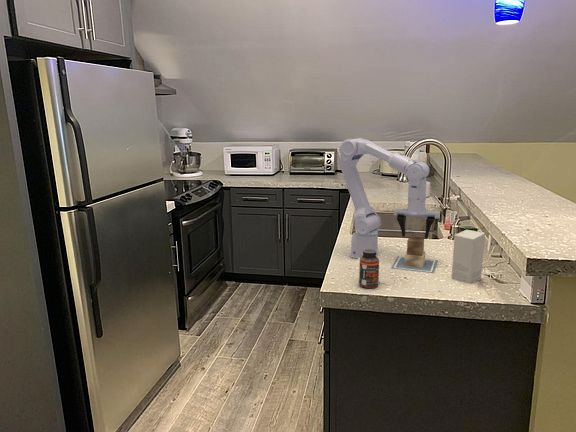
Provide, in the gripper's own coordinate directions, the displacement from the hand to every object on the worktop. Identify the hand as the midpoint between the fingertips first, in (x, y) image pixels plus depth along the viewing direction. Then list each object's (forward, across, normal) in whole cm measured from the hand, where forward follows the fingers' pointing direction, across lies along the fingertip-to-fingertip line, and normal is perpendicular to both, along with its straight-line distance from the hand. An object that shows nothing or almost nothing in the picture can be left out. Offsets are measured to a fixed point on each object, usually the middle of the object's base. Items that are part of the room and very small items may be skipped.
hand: (415, 236), depth 154 cm
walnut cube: (+5, 0, -2) cm, 6 cm away
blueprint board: (+10, 0, -1) cm, 10 cm away
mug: (+11, -16, +132) cm, 134 cm away
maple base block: (+9, 0, -1) cm, 9 cm away
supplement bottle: (+11, -10, -24) cm, 28 cm away
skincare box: (+10, +18, -9) cm, 23 cm away
